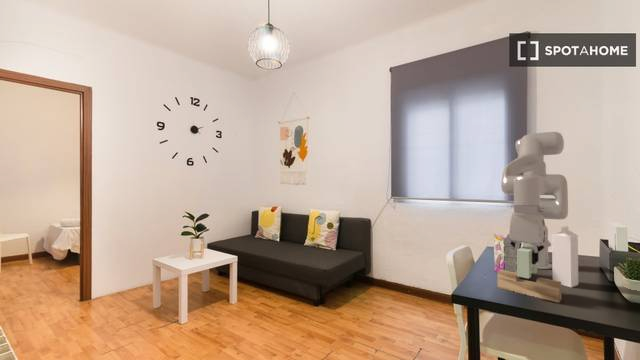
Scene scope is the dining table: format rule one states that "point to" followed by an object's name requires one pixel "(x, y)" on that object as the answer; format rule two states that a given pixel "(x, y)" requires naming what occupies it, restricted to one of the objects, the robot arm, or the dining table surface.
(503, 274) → the oak rail
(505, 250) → the candy bar box
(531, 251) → the pale green rectangular block
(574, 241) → the milk
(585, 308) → the dining table surface
